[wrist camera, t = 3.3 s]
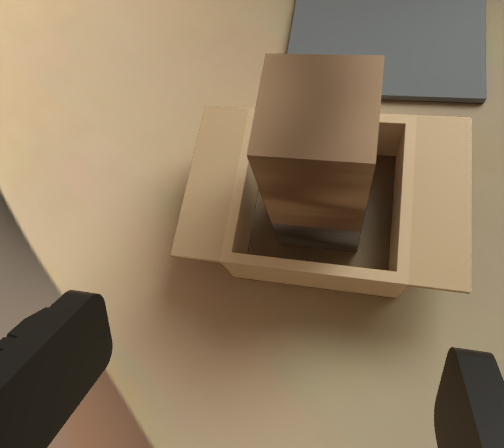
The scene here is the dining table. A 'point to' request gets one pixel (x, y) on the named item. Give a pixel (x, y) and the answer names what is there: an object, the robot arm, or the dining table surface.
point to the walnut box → (317, 145)
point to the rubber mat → (403, 43)
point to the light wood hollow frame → (403, 212)
